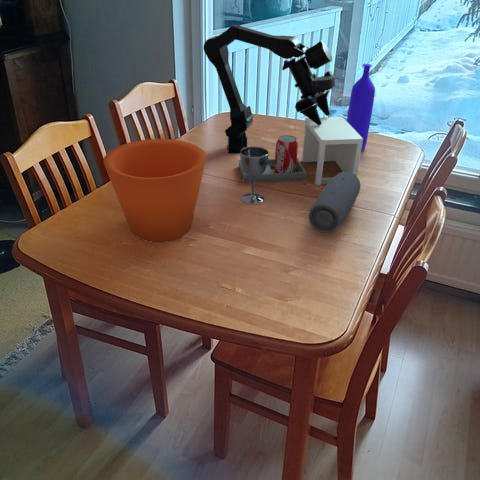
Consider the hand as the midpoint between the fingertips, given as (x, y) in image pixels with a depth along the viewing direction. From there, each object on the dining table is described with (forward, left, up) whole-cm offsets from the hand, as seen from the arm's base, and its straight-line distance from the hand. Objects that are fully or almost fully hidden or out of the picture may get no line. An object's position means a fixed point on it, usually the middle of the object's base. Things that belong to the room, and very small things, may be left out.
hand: (324, 120), depth 157 cm
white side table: (+1, -6, -15) cm, 17 cm away
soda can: (-14, -6, -16) cm, 22 cm away
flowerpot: (-54, -36, -16) cm, 67 cm away
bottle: (+17, +13, -16) cm, 26 cm away
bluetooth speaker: (-6, -36, -16) cm, 40 cm away
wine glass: (-27, -23, -16) cm, 39 cm away
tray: (-18, -6, -15) cm, 25 cm away
